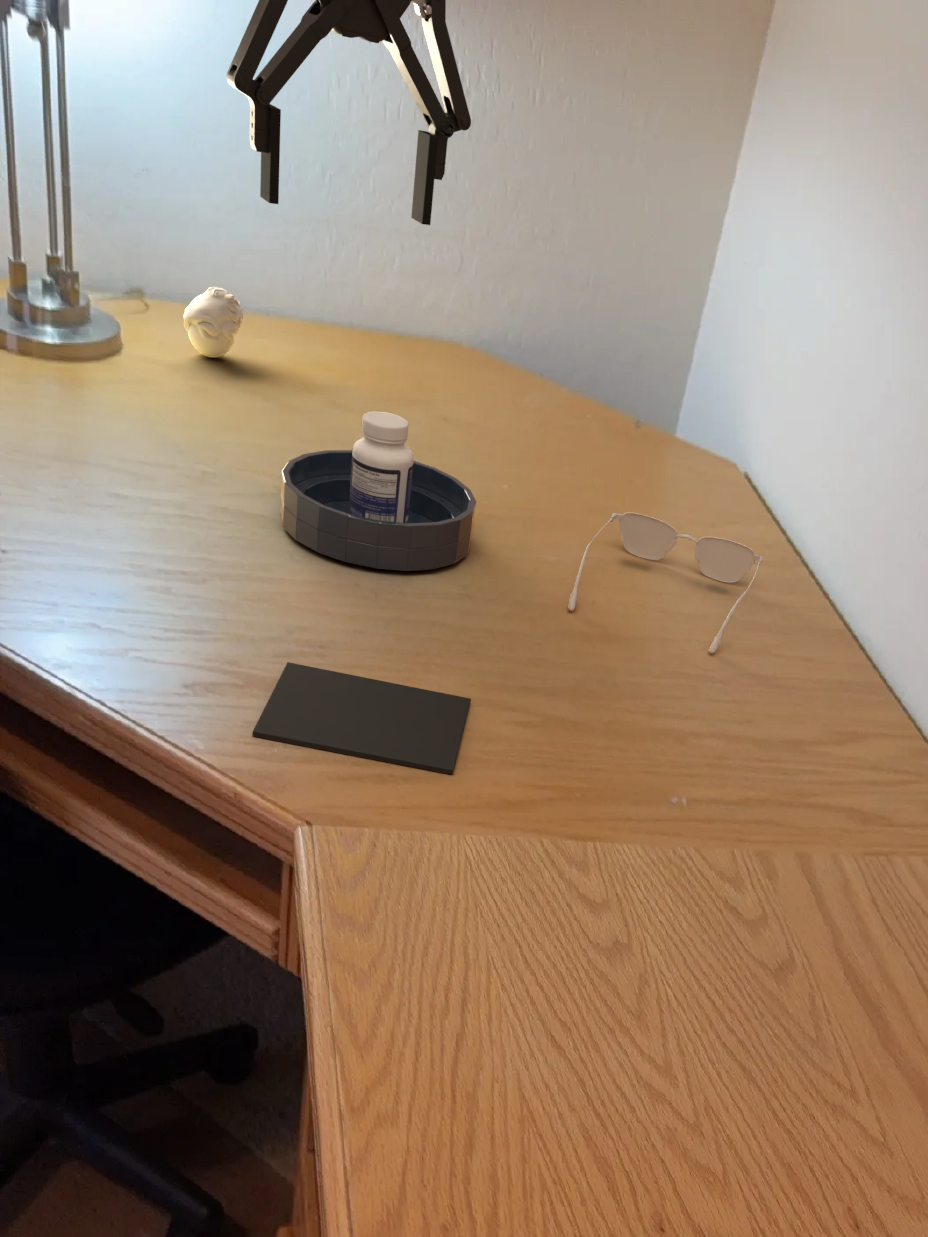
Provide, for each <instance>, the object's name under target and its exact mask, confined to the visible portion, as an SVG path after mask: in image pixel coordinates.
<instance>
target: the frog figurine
mask: <svg viewBox="0 0 928 1237" xmlns="http://www.w3.org/2000/svg"><path fill="white" fill-rule="evenodd" d="M182 318H183V328H184V330H186V331H187V335H188V339H189V341H190V343H191V345H192V346H193V347H194V349H195V350H196V351H197V352H198V353H200V354H201V355H203V356H205V357H208V358H220V357H223V356H224V355H225V354H227V353H228V352H229V351H230V349H231V348H232V346H234V343H235V339H234V336H237V335H238V334H239V330H240V328H241V326H242V324H243V319H244V312H243V307H242V304H241V302H240V301H239V300H238V299H237V298H236V297H235V296H234V295H233V294H232V293H230V292H229V291H228V290H226V289H224V288H222V287H219V286H209V287H208V288H207V289H206V290H205V292H203V293H201V294H199V295H197V296H196V297H195V298H193V300H192V301H191V302H190V303H189V304H188V306H186V308H184V313H183V315H182Z"/></svg>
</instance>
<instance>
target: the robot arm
mask: <svg viewBox="0 0 928 1237" xmlns="http://www.w3.org/2000/svg"><path fill="white" fill-rule="evenodd" d="M288 1H289V0H258V2H257V4H256V6H255V9H254V11H253V12H252V15H251V18H250V19H249V22H248V24H247V26H246V28H245V30H244V33H243V35H242V38H241V40H240V43H239V44H238V47H237V49H236V52H235V54H234V56H233V58H232V60H231V62H230V65H229V68H228V69H227V71H226V76H225V77H226V81H227V84H228V85H229V86H230V87H232V88H233V89H235V90H237V91H238V92H240V93H241V94H243V95H245V97H246V98H247V99H248V102H249V143H250V147H251V149H252V150H254V151H255V152H258V153H260V185H259V186H260V190H259V192H260V194H259V196H260V198H261V199H263V200H264V201H266V202H267V203H268V204H271V205H279V198H280V196H279V195H280V157H281V156H280V152H281V120H282V119H281V118H282V117H281V116H282V109H281V108H278V107H277V106H275V105H273V104H271V103H272V101H273V100H274V99H275V98H276V96H277V95H278V94H279V93H280V92H281V90H282V89H283V87H284V86H285V85H286V84H287V83H288V81H289V80H290V79H291V78H292V76H293V75H294V74H295V73H296V72H297V70H298V69H299V68H300V67H301V65H302V64H303V63H304V61H305V60H306V59H307V58H308V56H309V55H310V54H311V53H312V52H313V51H314V49H315V48H316V47H317V46H318V44H319V43H320V42H321V41H322V40H323V39H325V38H326V37H327V36H328V35H329V34H330V32H331V31H332V32H333V34H335V35H338V36H341V37H345V38H349V39H353V38H354V39H355V38H359V39H361V40H364V41H366V42H369V43H375V44H378V45H379V44H380V42H381V43H383V45H384V47H385V48H386V49H387V50H388V52H389V53H390V55H391V57H392V59H393V61H394V63H395V65H396V67H397V69H398V71H399V73H400V75H401V77H402V78H403V81H404V83H405V85H406V86H407V89H408V90H409V93H410V94H411V97H412V98H413V100H414V102H415V104H416V106H417V109H418V111H419V112H420V115H421V116H422V118H423V119H424V122H425V124H426V127H427V128H428V131H427V130H422V129H421V130H420V129H418V130H417V141H416V142H417V143H416V155H415V168H414V179H413V180H414V181H413V192H412V203H411V216H410V218H411V219H413V220H414V221H416V222H418V223H420V224H421V225H424V226H425V225H426V226H431V220H432V211H433V210H432V209H433V199H434V187H435V180H438V181H443V178H444V176H445V173H446V161H447V160H446V159H447V150H448V142H449V138H452V136H453V135H454V133H456V132H460V131H467V130H469V129H470V127H471V126H472V118H471V115H470V111H469V107H468V103H467V99H466V96H465V92H464V87H463V84H462V80H461V76H460V72H459V68H458V65H457V61H456V56H455V53H454V49H453V45H452V41H451V38H450V34H449V31H448V30H449V29H448V27H447V23H446V21H447V20H446V19H447V18H446V17H447V16H446V14H447V13H446V12H447V11H446V7H447V6H446V3H447V2H446V0H314V1H313V3H312V4H311V5H310V6H309V7H308V9H307V10H306V11H305V12H304V14H303V15H302V17H301V19H300V22H299V23H298V24H297V25H296V27H295V29H294V30H293V31H291V33H290V35H289V36H288V37H287V38H286V40H284V42H283V43H282V44H281V45H280V47H279V48H278V49H277V51H276V52H275V53H274V55H273V56H272V57H271V58H270V60H269V61H268V62H267V63H266V64H265V65H264V67H263V69H261V71H260V72H259V73H258V74H257V76H255V75H256V73H257V70H258V68H259V66H260V64H261V62H262V59H263V57H264V55H265V52H266V50H267V48H268V46H269V44H270V41H271V39H272V37H273V35H274V33H275V30H276V28H277V27H278V23H279V22H280V20H281V17H282V15H283V12H284V10H285V9H286V6H287V4H288ZM411 3H412V4H413V6H414V11H415V14H416V15H417V16H418V17H419V18H421V25H422V26H421V27H422V29H423V34H424V37H425V41H426V46H427V48H428V53H429V56H430V60H431V63H432V67H433V71H434V74H435V78H436V81H437V86H438V89H439V93H440V96H441V100H442V104H443V106H442V104H441V102H440V100H439V98H438V97H437V95H436V92H435V90H434V88H433V86H432V84H431V82H430V80H429V78H428V76H427V75H426V72H425V70H424V67H423V66H422V64H421V62H420V59H419V58H418V56H417V54H416V53H415V50H414V48H413V46H412V41H411V38H410V36H409V34H408V32H407V30H406V28H405V26H404V24H403V22H402V20H401V19H402V17H403V15H404V14H405V12H406V11H407V10H408V8H409V7H410V5H411ZM254 77H255V78H254Z"/></svg>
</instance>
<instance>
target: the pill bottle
mask: <svg viewBox="0 0 928 1237" xmlns="http://www.w3.org/2000/svg"><path fill="white" fill-rule="evenodd" d="M361 423H362V424H361V434H362V435H363V437H361V438H359V439H358V440H356V441H355V442H354V444H353V446H352V450H353V452H352V467H351V483H350V499H349V514H350V515H355V516H360V517H364V518H369V519H374V520H379V521H389V522H400V523H408V515H409V504H410V493H411V483H412V472H413V461H414V454H413V451H412V450H411V448H410V447H409V446H408V445H407V444H406V442H407V441H408V437H409V427H410V426H409V425H410V424H409V421H408V419H406V418H405V417H403V416H401V415H398V414H395V413H390V412H387V411H368V412H365V413H364V414H363V415H362V422H361Z"/></svg>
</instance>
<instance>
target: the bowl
mask: <svg viewBox="0 0 928 1237" xmlns="http://www.w3.org/2000/svg"><path fill="white" fill-rule="evenodd" d="M352 452H353V449H336V450H335V449H333V450H332V449H330V450H328V449H327V450H325V449H324V450H320V451H315V452H309V453H308V452H307V453H303V454H301V455H299V456H297V457H295V458H292V459H290V460H288V461H287V462H286V464H285V466H284V467H283V469H282V470H281V481H280V482H281V483H280V484H281V485H280V490H281V491H280V512H279V513H280V515H279V516H280V519H281V523H282V528H283V529H284V530H285V531H286V532H287V533H288V534H289V535H290V536H291V537H292V538H293V539H294V540H295V541H297V542H298V543H300V544H302V545H304V546H305V547H307V548H309V549H311V550H313V551H314V552H316V553H318V554H321V555H323V556H326V557H330V558H332V559H335V560H338V561H341V562H344V563H347V564H348V563H349V564H353V565H358V566H362V567H367V568H372V569H377V570H378V569H379V570H390V571H403V572H404V571H405V572H406V571H407V572H413V571H427V570H428V571H429V570H436V569H439V568H443V567H447V566H451V565H455V564H457V563H458V562H459V561H461V560H462V559H463V558H465V557H466V556H468V554H469V552H470V548H471V545H472V540H473V530H474V523H475V515H476V508H477V500H476V498H475V495H474V494H473V492H472V490H471V489H470V488H469V487H468V486H467V485H465V483H463V482H462V481H460V480H459V479H458V478H456V477H454V476H452V475H450V474H449V473H446V472H445V471H442V470H441V469H439V468H436V467H434V466H431V465H428V464H425V463H422V462H419V461H416V460H413V472H412V483H411V493H410V504H409V515H408V523H400V522H389V521H379V520H374V519H369V518H364V517H360V516H355V515H350V514H349V499H350V483H351V467H352Z"/></svg>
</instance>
